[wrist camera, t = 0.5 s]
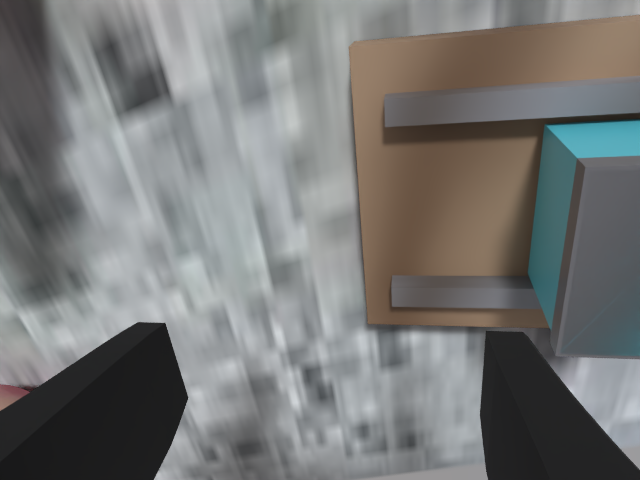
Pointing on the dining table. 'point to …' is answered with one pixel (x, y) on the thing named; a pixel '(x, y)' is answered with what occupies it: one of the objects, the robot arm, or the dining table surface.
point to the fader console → (472, 158)
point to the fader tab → (589, 238)
